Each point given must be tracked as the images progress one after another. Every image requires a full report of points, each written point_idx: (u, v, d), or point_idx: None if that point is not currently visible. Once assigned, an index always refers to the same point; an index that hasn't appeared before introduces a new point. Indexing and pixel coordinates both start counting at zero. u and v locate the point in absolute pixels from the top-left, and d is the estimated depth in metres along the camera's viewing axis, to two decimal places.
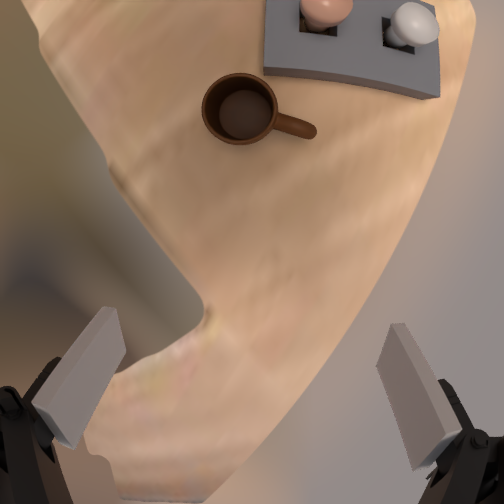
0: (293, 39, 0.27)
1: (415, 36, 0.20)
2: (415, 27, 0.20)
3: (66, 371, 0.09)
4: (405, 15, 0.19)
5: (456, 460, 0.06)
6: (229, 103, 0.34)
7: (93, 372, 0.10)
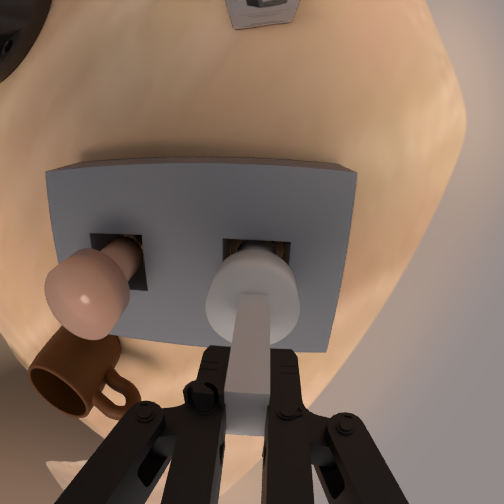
0: None
1: None
2: None
3: (245, 354, 0.11)
4: (219, 306, 0.16)
5: (267, 439, 0.07)
6: None
7: None
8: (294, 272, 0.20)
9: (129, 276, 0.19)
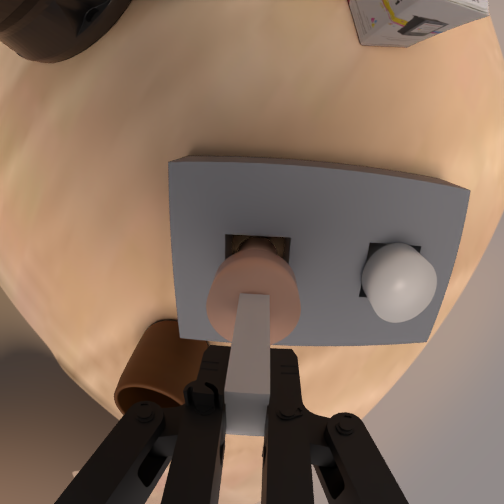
0: None
1: (388, 319, 0.19)
2: (394, 304, 0.18)
3: (245, 354, 0.11)
4: (383, 289, 0.18)
5: (267, 439, 0.07)
6: None
7: None
8: None
9: None
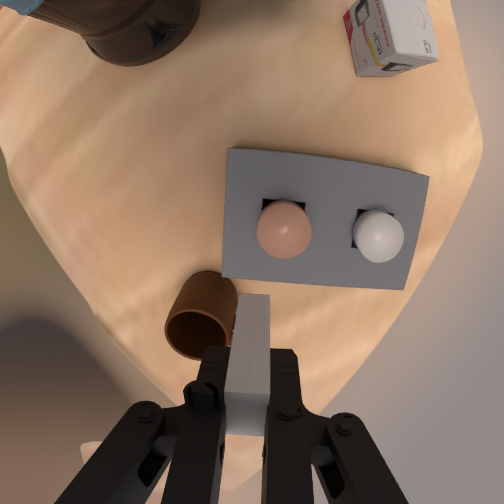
0: (252, 248, 0.32)
1: (371, 259, 0.29)
2: (374, 248, 0.28)
3: (245, 354, 0.11)
4: (366, 236, 0.28)
5: (267, 439, 0.07)
6: None
7: None
8: None
9: None
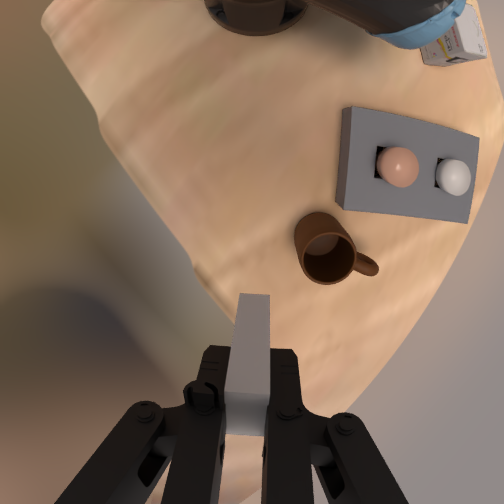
0: (368, 185, 0.37)
1: (452, 192, 0.34)
2: (453, 184, 0.33)
3: (245, 354, 0.11)
4: (449, 175, 0.33)
5: (267, 439, 0.07)
6: None
7: None
8: None
9: None
